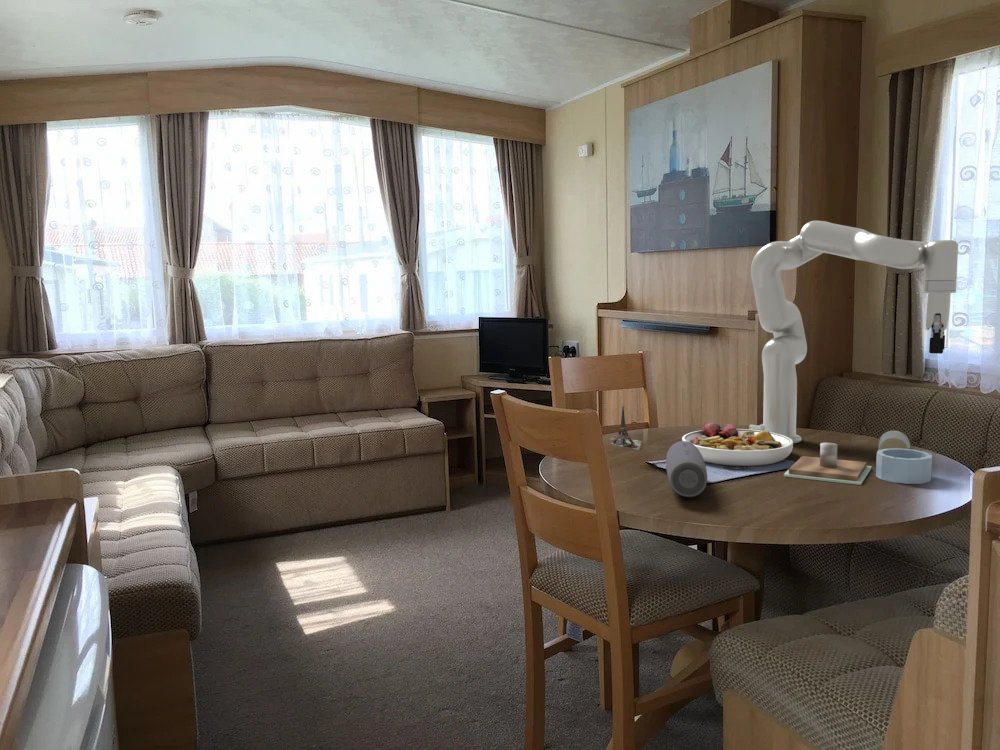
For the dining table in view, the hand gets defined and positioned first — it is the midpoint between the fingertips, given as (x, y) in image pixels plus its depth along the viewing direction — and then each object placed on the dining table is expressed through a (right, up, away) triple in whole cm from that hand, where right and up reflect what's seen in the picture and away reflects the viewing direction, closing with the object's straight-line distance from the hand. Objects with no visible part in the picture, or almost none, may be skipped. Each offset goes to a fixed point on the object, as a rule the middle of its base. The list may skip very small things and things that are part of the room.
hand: (936, 351), depth 214 cm
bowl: (-50, -30, +12) cm, 60 cm away
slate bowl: (-17, -32, -16) cm, 39 cm away
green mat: (-33, -31, -9) cm, 47 cm away
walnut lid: (-33, -31, -9) cm, 46 cm away
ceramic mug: (-10, -30, +1) cm, 31 cm away
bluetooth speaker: (-72, -34, -21) cm, 83 cm away
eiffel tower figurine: (-79, -28, +30) cm, 89 cm away
